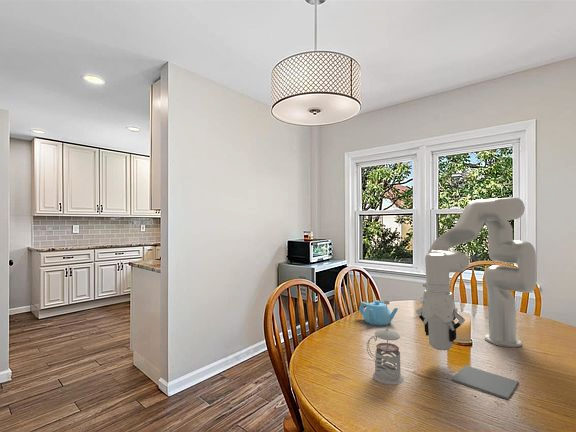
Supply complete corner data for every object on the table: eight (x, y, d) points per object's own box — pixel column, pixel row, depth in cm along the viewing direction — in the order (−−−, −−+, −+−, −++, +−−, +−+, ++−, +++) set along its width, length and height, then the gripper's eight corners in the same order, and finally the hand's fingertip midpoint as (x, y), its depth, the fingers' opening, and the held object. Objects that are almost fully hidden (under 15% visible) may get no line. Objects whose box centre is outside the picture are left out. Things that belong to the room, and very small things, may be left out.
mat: (465, 366, 107) (465, 365, 107) (518, 383, 96) (518, 381, 96) (451, 380, 98) (451, 378, 98) (508, 399, 87) (508, 397, 87)
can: (455, 352, 105) (454, 316, 105) (432, 351, 106) (430, 316, 106) (448, 343, 112) (447, 310, 112) (426, 342, 114) (425, 309, 114)
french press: (400, 387, 94) (398, 305, 94) (363, 378, 100) (361, 300, 101) (406, 374, 102) (405, 298, 103) (372, 365, 108) (370, 294, 109)
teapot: (384, 316, 165) (384, 296, 165) (399, 325, 150) (399, 303, 150) (357, 318, 162) (357, 297, 162) (370, 327, 147) (369, 305, 148)
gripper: (409, 286, 113) (411, 334, 113) (460, 293, 100) (463, 347, 100) (418, 283, 118) (420, 328, 118) (468, 289, 106) (470, 340, 105)
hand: (440, 337), depth 109 cm, fingers closed on can, 7 cm apart
